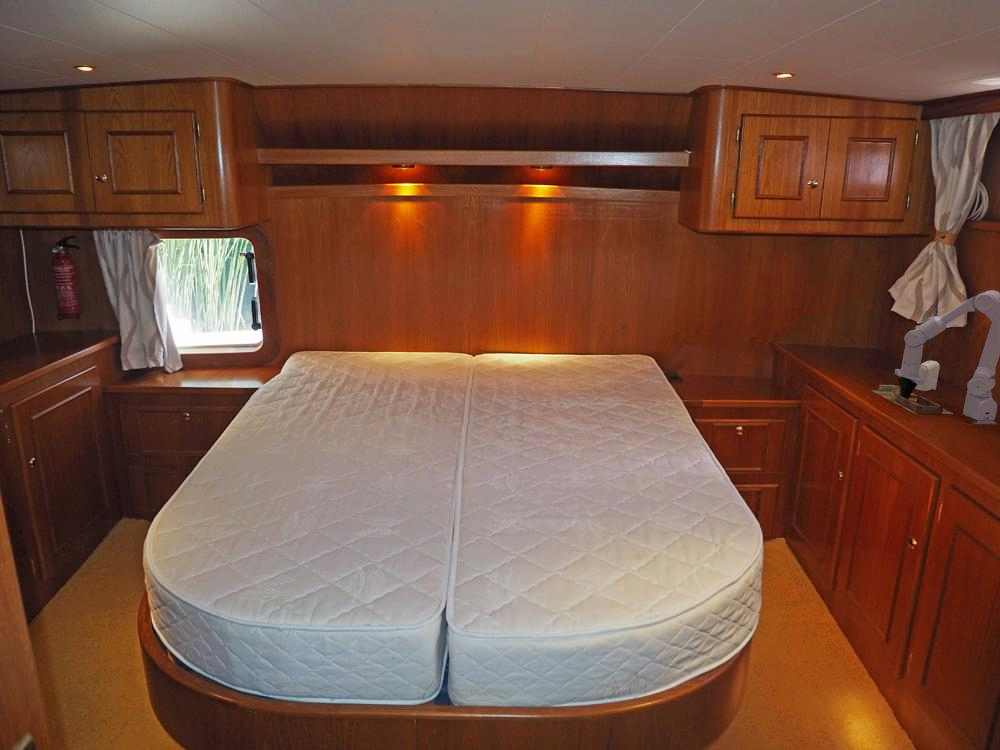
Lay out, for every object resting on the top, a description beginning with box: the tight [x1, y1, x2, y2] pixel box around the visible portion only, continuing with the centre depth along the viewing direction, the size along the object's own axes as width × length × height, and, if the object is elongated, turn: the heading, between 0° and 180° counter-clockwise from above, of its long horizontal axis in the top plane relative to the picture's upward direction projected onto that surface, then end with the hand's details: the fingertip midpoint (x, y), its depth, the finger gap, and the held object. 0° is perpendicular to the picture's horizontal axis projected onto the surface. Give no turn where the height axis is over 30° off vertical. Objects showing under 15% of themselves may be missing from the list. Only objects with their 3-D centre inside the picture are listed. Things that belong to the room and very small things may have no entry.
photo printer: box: [914, 360, 940, 392], centre depth 275 cm, size 10×4×12 cm, turn 125°
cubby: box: [897, 395, 944, 415], centre depth 252 cm, size 13×8×2 cm, turn 2°
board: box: [870, 384, 954, 415], centre depth 259 cm, size 28×14×4 cm, turn 2°
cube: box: [891, 385, 901, 399], centre depth 263 cm, size 4×4×4 cm
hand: (905, 398), depth 260 cm, fingers closed
